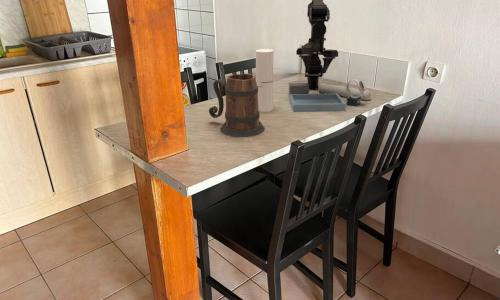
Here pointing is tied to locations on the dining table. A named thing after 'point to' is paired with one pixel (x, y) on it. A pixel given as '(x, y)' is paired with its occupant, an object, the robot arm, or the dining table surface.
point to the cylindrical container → (264, 79)
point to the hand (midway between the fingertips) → (315, 72)
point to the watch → (355, 99)
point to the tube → (342, 91)
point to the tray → (316, 102)
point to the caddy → (298, 87)
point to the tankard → (238, 106)
